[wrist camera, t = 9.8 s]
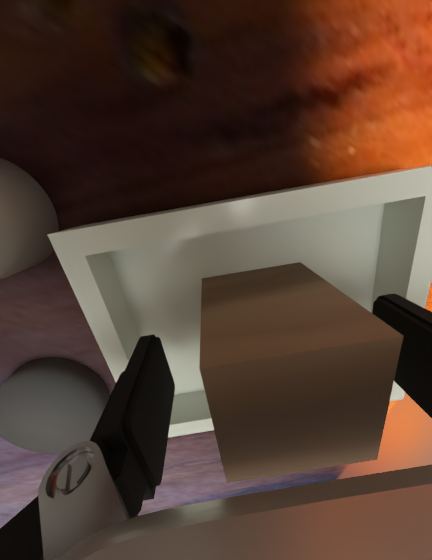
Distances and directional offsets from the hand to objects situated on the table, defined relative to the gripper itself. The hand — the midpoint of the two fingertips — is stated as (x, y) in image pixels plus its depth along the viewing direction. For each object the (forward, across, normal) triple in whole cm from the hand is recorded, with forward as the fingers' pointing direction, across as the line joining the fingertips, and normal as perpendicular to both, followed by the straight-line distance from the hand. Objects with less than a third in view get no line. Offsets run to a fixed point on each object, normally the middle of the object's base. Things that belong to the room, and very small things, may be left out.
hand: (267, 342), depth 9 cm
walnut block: (+2, 0, 0) cm, 2 cm away
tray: (+3, 0, 0) cm, 3 cm away
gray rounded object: (+3, +13, +4) cm, 14 cm away
